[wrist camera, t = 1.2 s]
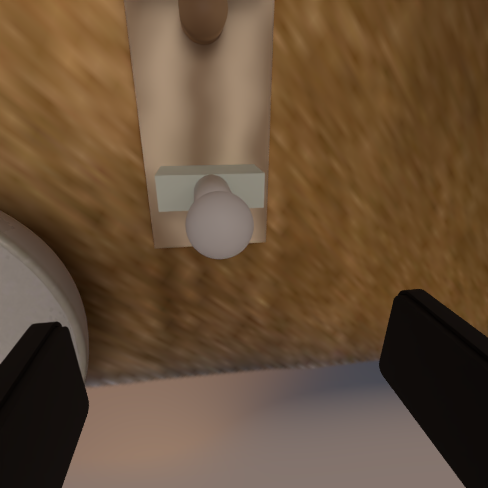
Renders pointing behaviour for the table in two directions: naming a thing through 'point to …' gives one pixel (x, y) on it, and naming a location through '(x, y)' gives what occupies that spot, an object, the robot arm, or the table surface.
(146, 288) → the table surface
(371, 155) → the table surface
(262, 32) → the base
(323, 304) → the table surface
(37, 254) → the decorative bowl
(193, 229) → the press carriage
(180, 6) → the walnut
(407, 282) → the table surface
